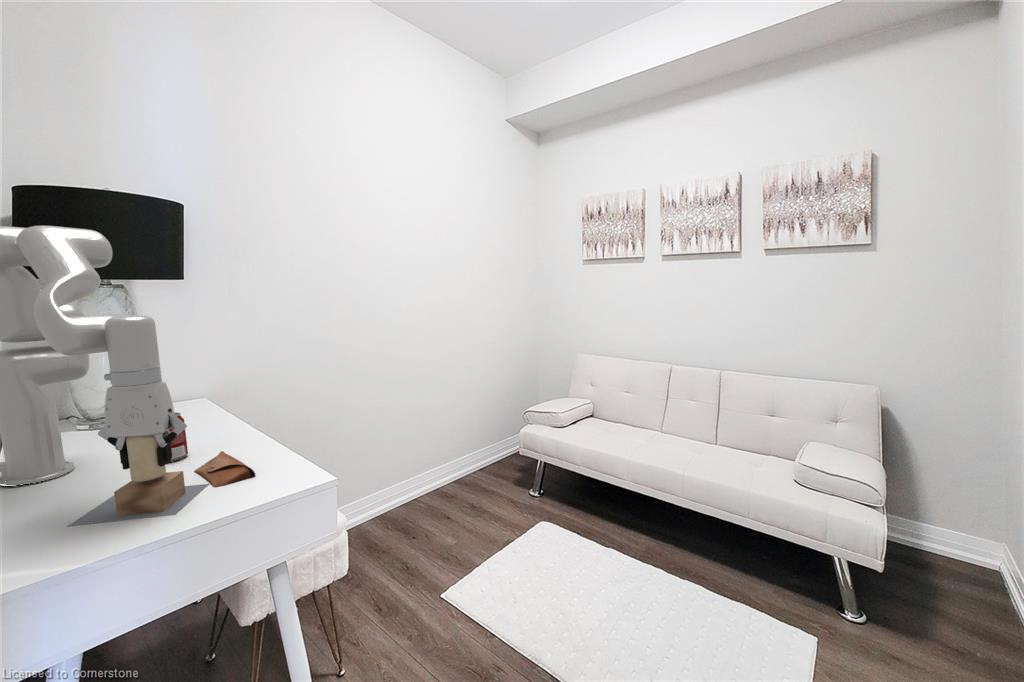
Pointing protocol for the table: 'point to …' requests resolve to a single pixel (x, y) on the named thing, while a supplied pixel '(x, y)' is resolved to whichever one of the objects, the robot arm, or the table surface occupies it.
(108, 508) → the mat
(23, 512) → the table surface
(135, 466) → the candle
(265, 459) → the table surface
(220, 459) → the sunglasses case
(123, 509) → the block
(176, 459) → the soda can
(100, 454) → the table surface
